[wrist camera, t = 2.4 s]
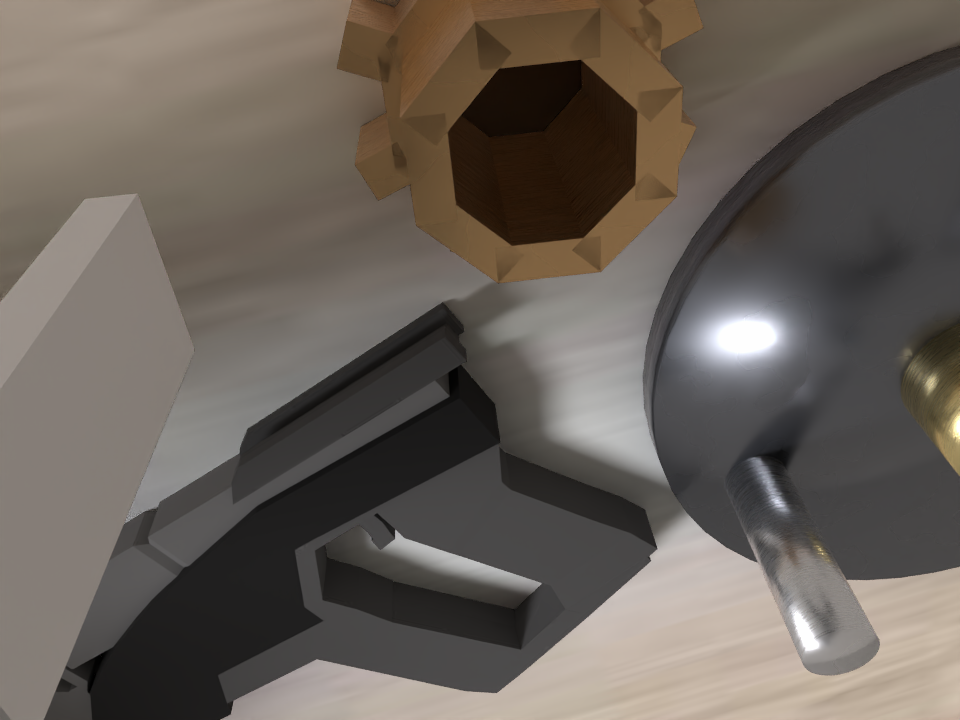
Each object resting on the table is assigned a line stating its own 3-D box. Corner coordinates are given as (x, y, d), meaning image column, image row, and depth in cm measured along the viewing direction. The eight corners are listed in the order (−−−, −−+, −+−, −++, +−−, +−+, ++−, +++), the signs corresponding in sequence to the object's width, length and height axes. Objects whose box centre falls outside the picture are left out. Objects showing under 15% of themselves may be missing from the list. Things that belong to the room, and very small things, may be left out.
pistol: (701, 601, 29) (468, 324, 22) (190, 829, 37) (-122, 683, 29) (684, 553, 31) (463, 282, 23) (201, 780, 38) (-89, 629, 31)
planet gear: (378, 228, 22) (368, 354, 17) (320, -99, 17) (284, -53, 12) (663, 196, 22) (734, 314, 17) (679, -138, 17) (782, -108, 12)
